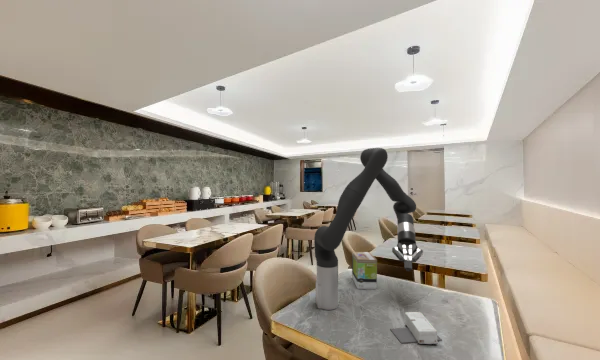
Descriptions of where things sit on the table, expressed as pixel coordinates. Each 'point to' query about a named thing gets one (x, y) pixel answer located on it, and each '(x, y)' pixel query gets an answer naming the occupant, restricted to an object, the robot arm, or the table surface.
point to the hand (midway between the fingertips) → (408, 270)
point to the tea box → (364, 270)
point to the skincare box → (421, 328)
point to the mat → (406, 335)
